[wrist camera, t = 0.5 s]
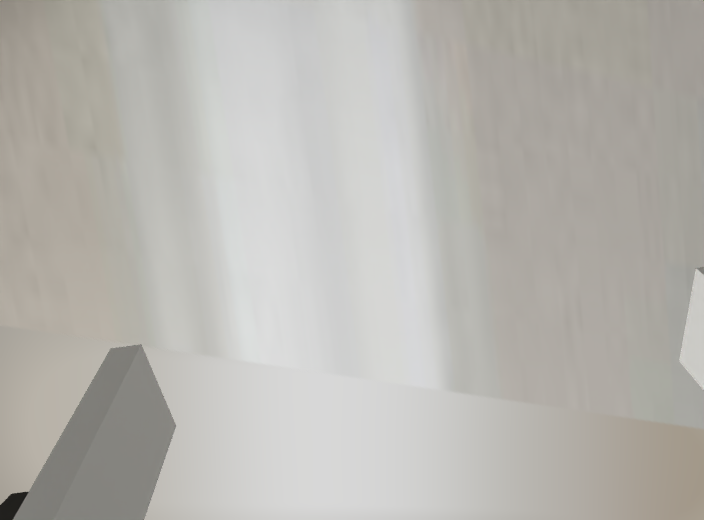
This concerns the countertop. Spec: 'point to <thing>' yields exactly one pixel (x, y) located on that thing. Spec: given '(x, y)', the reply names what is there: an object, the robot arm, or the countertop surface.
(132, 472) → the robot arm
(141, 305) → the countertop surface
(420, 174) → the countertop surface
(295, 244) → the countertop surface
